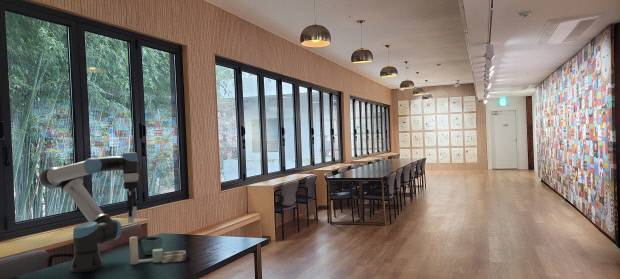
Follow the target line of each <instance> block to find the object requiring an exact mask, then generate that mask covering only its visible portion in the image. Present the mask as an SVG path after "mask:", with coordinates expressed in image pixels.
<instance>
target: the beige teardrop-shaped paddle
mask: <svg viewBox="0 0 620 279" xmlns="http://www.w3.org/2000/svg"><path fill="white" fill-rule="evenodd" d="M138 242H139V241H138V236H131V237H129V258H130V259H129V260H130V262H129V263H130V265H138V264H139V263H145V262H152V263H154V264H155V263H163V262H162V256H163V252H164V250H163V249H164V248H162V247H161V249H153V251H152V255H151V256H152V258H146V259H139V247H138V246H139V245H138V244H139V243H138Z"/></svg>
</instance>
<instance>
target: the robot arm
mask: <svg viewBox="0 0 620 279" xmlns="http://www.w3.org/2000/svg"><path fill="white" fill-rule="evenodd" d="M113 171H122V177H123V179H122V181H123V189H124V190H127V192H126V195H127V198H126V201H127V202H126V208H125V211H127V223H128V224H131V223H133V224H134V223H135V220H136V219H138V211H137V210H138V208H137V207H139V205H138V202H137V201H138V200H137V191H136V189H138V188H139V187H140V182H139V177H140V174H139V159H138V153H137V152H135V151H134V152H133V151H132V152H131V151H130V152H123V153H122V156H119V155H118V156H105V157H91V158H87V159H85V160H84V161H78V162H76V163H72V164H68V165H65V166H54V167H47V168H45V169H43V170H42V171H41V173H40V175H39V181H40V183H41V185H42V186H43V187H45V188H48V189H57V188H59V189H61V191H62V192H63V193H65V194H68V195H69V196H70V198H71V199H72V200H73V202H74V203H75V204H76V207H78V209H79V210H80V212H81V213H82V214H83V216H84V217H85V218H86V220H87V222H84V223H80V224H77V225H76V226H74V227H73V234H72V239H73V253H74V254H73V259H72V262H71V265H70V271H71V272H72V273H87V272H88V273H89V272H92V271H97V270H99V269H102V268H103V267H104V262H103V261H104V260H103V258H102V257H101V253H100V250H99V248H100V247H99V246H101V245H105V244H108V243H112V242H114V241H117V240H118V239H119V238H120V237H121V235H122V229H123V228H122V224H121V222H120V221H119V220H118V219H116V218H111V216H110V215H109V214H107V213H104V212H103V210H102V209H101V207H100V206H99V205H98V204H97V202H96V201H95V200H94V198H93V197H92V195H91V194H90V193H89V191H88V190H87V189H86V187H85V186H84V176H89V175H92V174H96V173H103V172H113Z"/></svg>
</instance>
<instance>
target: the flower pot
mask: <svg viewBox="0 0 620 279" xmlns="http://www.w3.org/2000/svg"><path fill="white" fill-rule="evenodd" d="M140 242H141V247H142V250H143V252H144V254H145V255H148V256H149V255H151V256H153V255H152V251H153V249H162V245H163V244H162V243H163V236H147V237H146V238H144V239H140Z"/></svg>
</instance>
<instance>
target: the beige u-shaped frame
mask: <svg viewBox="0 0 620 279" xmlns="http://www.w3.org/2000/svg"><path fill="white" fill-rule="evenodd" d="M185 261H187V250H186V249H183V250H173V251H165V252H164V251H163V256H162V262H161V263H162V264H167V263H168V264H169V263H175V262H185Z"/></svg>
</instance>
